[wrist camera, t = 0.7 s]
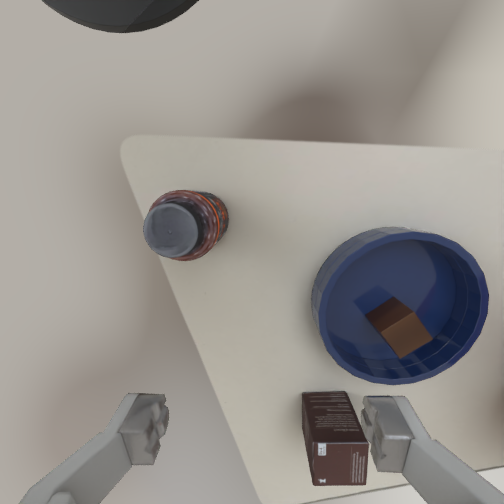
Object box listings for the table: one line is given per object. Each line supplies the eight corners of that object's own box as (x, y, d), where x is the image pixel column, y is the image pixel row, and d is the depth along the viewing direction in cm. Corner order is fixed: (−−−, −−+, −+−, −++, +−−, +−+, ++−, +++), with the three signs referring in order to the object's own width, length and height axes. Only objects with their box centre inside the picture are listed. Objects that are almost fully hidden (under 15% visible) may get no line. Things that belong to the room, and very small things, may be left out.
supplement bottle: (237, 233, 29) (224, 257, 18) (190, 250, 30) (151, 283, 19) (217, 183, 28) (191, 176, 17) (169, 202, 29) (113, 208, 18)
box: (344, 427, 35) (366, 487, 28) (301, 427, 35) (312, 487, 28) (346, 390, 34) (370, 443, 26) (301, 390, 34) (313, 443, 27)
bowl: (282, 286, 30) (286, 299, 27) (411, 194, 28) (436, 194, 24) (361, 385, 33) (375, 410, 29) (484, 311, 31) (517, 328, 27)
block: (364, 314, 30) (380, 332, 27) (393, 296, 30) (414, 311, 26) (382, 338, 31) (400, 359, 27) (410, 320, 30) (433, 339, 27)
